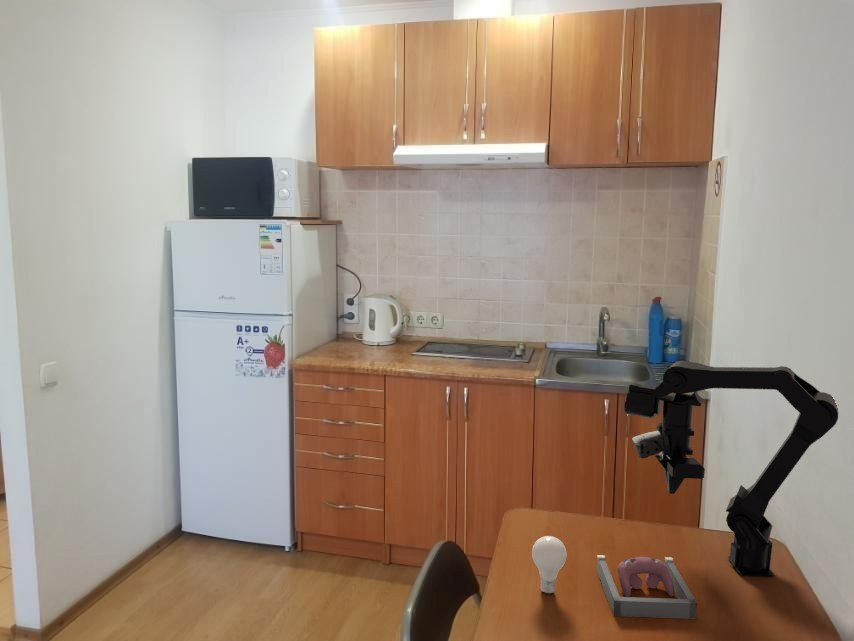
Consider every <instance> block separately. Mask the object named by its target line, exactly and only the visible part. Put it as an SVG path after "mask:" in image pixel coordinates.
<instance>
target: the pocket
mask: <svg viewBox="0 0 854 641" xmlns="http://www.w3.org/2000/svg"><path fill="white" fill-rule="evenodd" d="M596 556H597V564H596V572H597V574H598V578H599V580H601V581H600V583H601V586H602V589H603V592H604V593H605V596H606V599H607V602H608V604H609V608H610V609H611V610H610V611H611V612H612V616H614V617H632V618H656V619H657V618H661V619H687V620H689V619H690V620H697V613H698V602H697V601H696V599H695V597H694V595H693V593H692V592H691V590H690V589H689V586H688V584H687V583H686V582H685V579H684V578H683V576H682V575H681V573H680V572H679V570H678V568H677V567H676V565H675V563H674V558H673V557H670V556H669V557H667V556H664V564H665V565H666V566H667V568H668V570H669V572H670V575H671V578H672V581H673V585H674V594H675V596H676V597H677V598H664V597H661V598H660V597H657V598H656V597H636V596H635V597H634V596H632V597H631V596H630V597H626V596H620V594H619V591H618V588H617V587H616V584H615V582H614V581H615V580H614V579H613V576H612V573H611V571H610V569H609V567H608V565H607V561H606V555H605V554H604V555H603V554H601V555H599V554H597V555H596Z"/></svg>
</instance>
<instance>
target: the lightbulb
mask: <svg viewBox="0 0 854 641" xmlns="http://www.w3.org/2000/svg"><path fill="white" fill-rule="evenodd" d="M531 558H532V560H533V562H534V565H535V566H536V567H537V569H538V572H539V576H540V577H539V578H540V590H541V592H543V593H545V594H553V593H554V592H555V591H556V579H557V577H558V573H559V571H560V570H561V569H562V568H563V567H564V565H565V563H566V561H567V548H566V546H565V544H564V543H563V541H561V540H560V539H559V538H557V537H556V536H552V535H544V536H542V537H540V538H538V539H537V540H536V541H535V542H534V543H533V546H532V550H531Z"/></svg>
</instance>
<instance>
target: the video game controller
mask: <svg viewBox="0 0 854 641" xmlns="http://www.w3.org/2000/svg"><path fill="white" fill-rule="evenodd" d="M617 573H618V578H619V584H620V587H621V591H622V593H623V595H624V597H631V592H632V589H636V590H639V589H641V588H642V587H643V580H642V577H640V576H639V575H640V574H647V576H646V577H645V581H644V582H645V585H646V586H647V588H649V589H653V590H654V589H657V588H658V586H659V584H660V582H661V583H662V585H663V587H664V589H665V591H666V593H667V594H668V596H669V597H674V596H675V595H674V594H675V592H674V585H673V581H672V578H671V575H670V572H669V570H668V568H667V566H666V565H665V562H663V561H662V560H660V559H658V558H654V557H649V556H636V557H631V558H628V559H625V560H623V561H621V562H620V563H619V564H618V566H617Z"/></svg>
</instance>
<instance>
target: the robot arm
mask: <svg viewBox="0 0 854 641" xmlns="http://www.w3.org/2000/svg"><path fill="white" fill-rule="evenodd" d="M710 389H728V390H729V389H730V390H731V389H733V390H775V391H777V392H778V393H780V394H781V395H782V396H783V397H784V398H785V400H786V401H787V402H788V403H789V404H790V405H791V406H792V407H793V408H794V409H795V411H797V412H798V415H797V418H796V420H795V423H794V425H793V428H792V430H791V431H790V433H789V434H788V436H787V437H786V438H785V440H784V441H783V442H782V444H781V445H780V447H779V448H778V449H777V451H776V453H775V454H774V455H773V457H772V458H771V459H770V460H769V463H768V464H767V465H766V467H765V468H764V470H763V471H762V472H761V474H760V475H759V476H758V478H757V479H756V481H755V482H754V483H753V484H752V485H751V486H749V487H748V488H746V487H744V485H742V484H741V485H740V486H739V489H738V490H737V492H736V494H735V495H734V496H732V497H731V498H730V500H729V502H728V505H727V507H726V509H725V512H726V513H727V515H726V520H725V521H726V524H727V527H728V528H729V530H730V531H731V532H733V533H734V535H733V536H734V537H733V541H732V542H730V551H729V556H728V557H727V558H728V561H729V562H730V563H731V565H732V566H733V567H734V568H735V570H736V571H737V573H738V574H739V575H740V576H748V577H749V576H750V577H751V576H752V577H774V576H775V575H774V572H773V571H772V570H771V562H772V552H773V542H772V541H771V540H770V536H771V534H772V529H773V525H772V523H771V522H770V521H769V520H768V519H767V518H766V516H765V512H766V510H767V508H768V506H769V503H770V501H771V500H772V498H773V497H774V495H775V494H776V493H777V491H778V490H779V488H780V487H781V486H782V484H783V483H784V482H785V480H786V479H787V478H788V476H789V475H790V473H791V472H792V471H793V470H794V468H795V467H796V466H797V464H798V462H799V461H800V460H801V459H802V457H803V456H804V454H805V453H806V451H807V450H808V449H809V448H810V446H811V445H813V444H814V443H816V442H817V441H819V440H820V439H821V438H823V437H824V436H825V435H826V434H827V433H828V432H830V430H832V428H834V426H835V425H836V424H837V423H838V420H839V412H838V408H837V405H836V403H835V400H834V399H833V397H834V396H833V395H831V394H830V393H827V392H822V391H819V389H817V388H816V387H815V386H814V385H812V384H811V383H809V382H808V381H807V380H805V379H803V378H802V377H800V376H799V375H797V373H795V372H794V371H793V370H792V369H791V368H790V367H788V366H783V365H782V366H776V367H761V366H760V367H759V366H758V367H756V366H755V367H754V366H753V367H750V366H749V367H747V366H745V367H744V366H742V367H741V366H740V367H739V366H737V367H735V366H733V367H730V366H728V367H726V366H723V367H722V366H721V367H720V366H710V365H705V364H704V363H699V362H693V361H686V360H679V361H675V362H674V363H673V364H671V365H670V366H669V367H668V368H666V370H665V371H664V372H663V375H662V381H660V382H659V383H658V384H657V385H656V386H650V385H646V384H645V385H643V384H640V383H636V382H631V383H630V384H629V385H628V390H627V394H626V397H625V401H624V413H625V415H629V416H634V417H640V418H647V419H652V420H653V419H654V418H655V417H656V415H657V416H659V415H660V414H661V412H662V418H661V422H658V424H657V427H656V428H657V429H656V430H654V431H649V432H646V433H642V434H639V435H635V436H633V437H632V438H631V440H632V444H633V447H634V450H635V453H636V454H637V455H638V457H639V458H640V459H647V458H649V457H652V456H654V457H655V459H656V460H657V461H658V463H659V464H660V465H661V467H662V468H663V471H664V476H665V482H666V488H667V491H668V494H670V495H675V494H676V492H677V491H678V490H679V488H680V487H681V485H682V484H683V482H684V481H685V479H691V480H692V479H695V480H696V479H704V478H705V473H706V472H705V471H706V469H705V467H704V466H703V465H702V464H701V462H699V461H698V460H697V459H696V458H695V457H689V456H693V455H694V451H693V449H692V447H691V437H694V436H695V430H693V428H692V423H693V412H694V410H693V409H694V407H701V406H702V405H703V404H704V402H705V400H704V398H702V397H701V396H700V395H699V393H698V392H701V391H706V390H710ZM690 393H691V394H690ZM671 394H675V395H671ZM832 396H833V397H832Z"/></svg>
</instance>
